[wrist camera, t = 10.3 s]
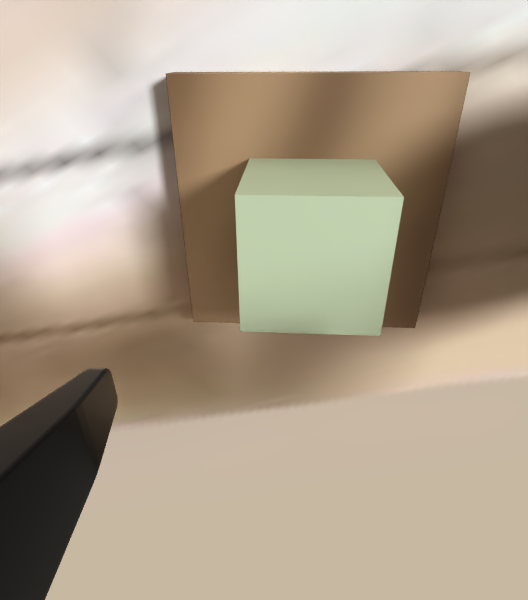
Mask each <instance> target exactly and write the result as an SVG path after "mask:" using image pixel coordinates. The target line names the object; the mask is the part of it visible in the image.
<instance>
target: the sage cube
mask: <svg viewBox="0 0 528 600" xmlns="http://www.w3.org/2000/svg"><path fill="white" fill-rule="evenodd" d="M403 200H404V196H403V195H402V194H401V193H400V191H399V190H398V189H397V187H396V186H395V185H394V183H393V182H392V181H391V179H390V178H389V177H388V176H387V174H386V173H385V172H384V170H383V169H382V168H381V166H380V165H379V164H378V162H377V161H376V160H375V159H266V158H250V159H249V161H248V164H247V166H246V169H245V171H244V173H243V176H242V178H241V181H240V183H239V186H238V188H237V191H236V193H235V212H236V237H237V262H238V287H239V312H240V332H271V333H303V334H335V335H367V336H381V330H382V324H383V318H384V312H385V306H386V300H387V294H388V288H389V283H390V277H391V271H392V265H393V259H394V253H395V247H396V241H397V235H398V229H399V224H400V218H401V212H402V206H403Z"/></svg>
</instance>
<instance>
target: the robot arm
mask: <svg viewBox="0 0 528 600" xmlns="http://www.w3.org/2000/svg"><path fill="white" fill-rule="evenodd" d="M116 408H117V394H116V390H115V386H114V382H113V378H112V374H111V372H110V370H109V369H107V368H89V369H87V370H85V371H84V372H82V373H81V374H79V375H78V376H76V377H75V378H73V379H72V380H70V381H69V382H67V383H66V384H64V385H62V386H61V387H59V388H58V389H56V390H55V391H53V392H52V393H50V394H49V395H47V396H46V397H44V398H43V399H41V400H40V401H38V402H37V403H35V404H34V405H32V406H31V407H29V408H28V409H26V410H25V411H23V412H22V413H20V414H19V415H17V416H16V417H14V418H13V419H11V420H10V421H8V422H7V423H5V424H4V425H2V426H1V427H0V600H45V598H46V596H47V593H48V591H49V588H50V586H51V584H52V581H53V579H54V577H55V574H56V572H57V569H58V567H59V565H60V562H61V560H62V557H63V555H64V553H65V550H66V548H67V545H68V543H69V541H70V538H71V535H72V533H73V531H74V528H75V526H76V524H77V521H78V519H79V517H80V514H81V512H82V510H83V507H84V505H85V502H86V500H87V498H88V495H89V492H90V490H91V488H92V485H93V483H94V480H95V478H96V475H97V472H98V469H99V466H100V463H101V459H102V456H103V453H104V449H105V446H106V442H107V439H108V436H109V432H110V429H111V426H112V422H113V419H114V415H115V412H116Z"/></svg>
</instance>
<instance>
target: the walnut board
mask: <svg viewBox="0 0 528 600" xmlns="http://www.w3.org/2000/svg"><path fill="white" fill-rule="evenodd" d="M469 77H470V73H469V72H461V71H393V72H173V73H167V74H166V80H167V89H168V98H169V107H170V116H171V125H172V134H173V144H174V153H175V162H176V171H177V180H178V189H179V198H180V207H181V216H182V225H183V234H184V243H185V252H186V261H187V270H188V279H189V289H190V298H191V307H192V316H193V321H195V322H229V323H240V312H239V287H238V262H237V237H236V212H235V193H236V191H237V188H238V186H239V183H240V181H241V178H242V176H243V173H244V171H245V169H246V166H247V164H248V161H249V159H250V158H266V159H375V160H376V161H377V162H378V164H379V165H380V166H381V168H382V169H383V170H384V172H385V173H386V174H387V176H388V177H389V178H390V179H391V181H392V182H393V183H394V185H395V186H396V187H397V189H398V190H399V191H400V193H401V194H402V195H403V196H404V200H403V206H402V212H401V218H400V224H399V229H398V235H397V241H396V247H395V253H394V259H393V265H392V271H391V277H390V283H389V288H388V294H387V300H386V306H385V312H384V318H383V324H382V327H402V328H415V326H416V321H417V317H418V312H419V307H420V303H421V298H422V293H423V289H424V284H425V280H426V275H427V270H428V266H429V261H430V257H431V252H432V247H433V243H434V238H435V234H436V229H437V224H438V220H439V215H440V210H441V206H442V201H443V197H444V192H445V187H446V183H447V178H448V174H449V169H450V164H451V160H452V155H453V151H454V146H455V141H456V137H457V132H458V127H459V123H460V118H461V114H462V109H463V104H464V100H465V95H466V91H467V86H468V81H469Z"/></svg>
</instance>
